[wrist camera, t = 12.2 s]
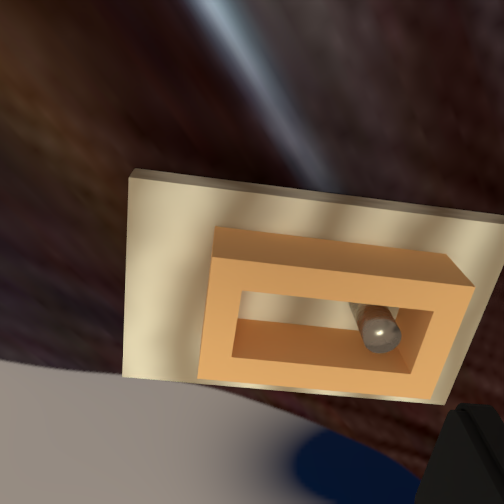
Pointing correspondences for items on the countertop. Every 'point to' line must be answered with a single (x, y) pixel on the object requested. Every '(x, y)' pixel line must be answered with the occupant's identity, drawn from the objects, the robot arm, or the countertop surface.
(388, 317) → the round metal post
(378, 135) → the countertop surface
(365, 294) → the orange rectangular frame
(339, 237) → the backing board
